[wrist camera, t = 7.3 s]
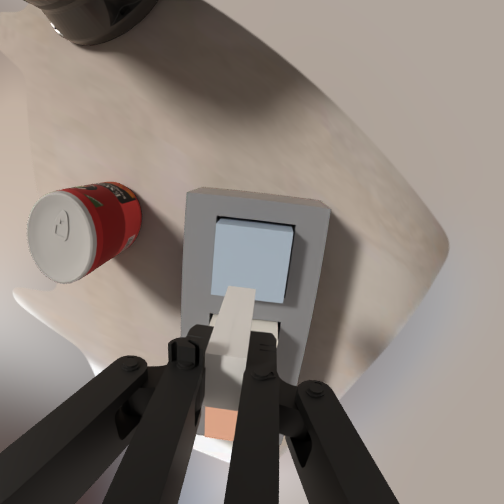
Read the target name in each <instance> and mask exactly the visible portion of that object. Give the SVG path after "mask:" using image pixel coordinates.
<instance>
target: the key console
mask: <svg viewBox="0 0 504 504" xmlns="http://www.w3.org/2000/svg"><path fill="white" fill-rule="evenodd" d="M330 212H331V209H330V208H329V207H328V206H327V205H325V204H324V203H323V202H321V201H319V200H312V199H305V198H297V197H289V196H281V195H273V194H265V193H256V192H247V191H238V190H228V189H218V188H208V187H200V188H198V189H195V190H192V191H189V192H187V196H186V210H185V225H184V243H183V264H182V293H181V337H186V336H187V334H188V332H189V329H190V328H192V327H193V326H195V325H196V324H200V325H207V326H209V324H210V322H211V319H212V316H213V314H219V311H220V308H221V305H222V302H223V300H224V297H225V296H218V295H211V285H212V271H213V257H214V244H215V232H216V223H217V222H218V221H219V220H220V219H221V218H222V217H223V216H226V217H235V218H243V219H252V220H261V221H269V222H277V223H285V224H291V226H292V230H293V239H292V246H291V253H290V260H289V266H288V273H287V280H286V286H285V293H284V299H283V303H275V302H266V301H258V300H255V301H254V309H253V318H252V319H259V320H267V321H276V322H278V344H277V373H278V375H279V377H280V378H281V379H282V380H283V381H285V382H286V383H289V384H291V385H294V386H297V382H298V378H299V373H300V369H301V365H302V360H303V356H304V352H305V347H306V343H307V338H308V333H309V329H310V324H311V319H312V314H313V309H314V304H315V299H316V294H317V289H318V283H319V278H320V272H321V267H322V261H323V255H324V250H325V244H326V238H327V231H328V225H329V218H330ZM196 434H197V435H203V436H205V406H203V403H202V408H201V418H200V422H199V426H198V429H197V433H196ZM283 436H284V435H282V434H279V445H281V443H282V440H283Z"/></svg>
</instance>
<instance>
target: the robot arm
mask: <svg viewBox="0 0 504 504" xmlns="http://www.w3.org/2000/svg"><path fill="white" fill-rule="evenodd" d="M24 1H26V2H28V3H30V4H32V5H34V6H36V7H38V8H40V9H41V10H42V11H43V12H44V14H45V15H46V16H47V17H48V19H49V20H50V21H51V24H52V26H53V28H54V30H55V31H56V32H57V33H58V34H59V35H60V36H61V37H63V38H65V39H67V40H69V41H71V42H73V43H75V44H79V45H95V44H100V43H103V42H106V41H109V40H111V39H114V38H116V37H118V36H120V35H121V34H123V33H125V32H126V31H128V30H129V29H131V28H132V27H133V26H135V25H136V24H137V23H138V22H140V21H141V20H142V19H143V18H144V17H145V16H146V15H147V14H148V13H149V12H150V10H151V9H152V8H153V7H154V5H155V4H156V2H157V1H158V0H24ZM255 293H256V289H251V288H243V287H235V286H228V288H227V291H226V294H225V297H224V300H223V302H222V305H221V308H220V311H219V314H218V317H217V320H216V323H215V326H207V325H200V324H196V325H195V326H193V327H192V328H190V329H189V332H188V334H187V336H186V337H181V338H176V339H173V340H171V341H170V342H169V343H168V358H169V362H168V364H167V365H164V366H149V367H147V363H146V361H145V360H144V359H142V358H141V357H137V356H123V357H121V358H119V359H117V360H116V361H114V362H113V363H112V364H111V365H109V366H108V367H107V368H106V369H104V370H103V371H102V372H101V373H99V374H98V375H97V376H96V377H94V378H93V379H92V380H91V381H89V382H88V383H87V384H86V385H84V386H83V387H82V388H81V389H79V390H78V391H77V392H76V393H74V394H73V395H72V396H71V397H70V398H68V399H67V400H66V401H65V402H63V403H62V404H61V405H60V406H58V407H57V408H56V409H55V410H53V411H52V412H51V413H50V414H48V415H47V416H46V417H45V418H43V419H42V420H41V421H40V422H38V423H37V424H36V425H35V426H33V427H32V428H31V429H30V430H28V431H27V432H26V433H25V434H23V435H22V436H21V437H20V438H19V439H17V440H16V441H15V442H13V443H12V444H11V445H10V446H9V447H7V448H6V449H5V450H4V451H2V452H1V453H0V504H75V503H76V502H77V501H78V500H79V499H80V498H81V497H82V496H83V495H84V493H85V492H86V491H87V490H88V489H89V488H90V487H91V486H92V485H93V484H94V483H95V481H96V480H97V479H98V478H99V477H100V476H101V475H102V474H103V473H104V471H105V470H106V469H107V468H108V467H109V466H110V465H111V464H112V463H113V461H114V460H115V459H116V458H117V457H118V456H119V455H120V454H121V452H122V451H123V450H124V449H125V448H126V447H127V446H128V445H129V446H128V448H127V450H126V452H125V454H124V457H123V459H122V461H121V463H120V465H119V467H118V470H117V472H116V474H115V476H114V479H113V481H112V483H111V485H110V487H109V489H108V492H107V494H106V496H105V498H104V501H103V503H102V504H178V500H179V497H180V493H181V489H182V485H183V482H184V478H185V474H186V470H187V466H188V462H189V459H190V455H191V452H192V448H193V444H194V440H195V437H196V433H197V429H198V426H199V422H200V418H201V408H202V403H203V406H206V407H212V408H219V409H226V410H233V411H238V414H237V421H236V427H235V434H234V441H233V447H232V454H231V460H230V467H229V473H228V480H227V486H226V493H225V499H224V504H279V434H282V435H285V439H286V442H287V445H288V448H289V450H290V453H291V456H292V459H293V461H294V464H295V467H296V470H297V473H298V475H299V478H300V481H301V483H302V486H303V489H304V491H305V494H306V497H307V500H308V502H309V504H399V502H398V501H397V499H396V497H395V496H394V494H393V492H392V490H391V489H390V487H389V485H388V484H387V482H386V480H385V479H384V477H383V475H382V473H381V472H380V470H379V468H378V467H377V465H376V464H375V462H374V460H373V458H372V456H371V455H370V453H369V452H368V450H367V448H366V446H365V445H364V443H363V441H362V439H361V438H360V436H359V434H358V433H357V431H356V429H355V428H354V426H353V424H352V422H351V421H350V419H349V417H348V416H347V414H346V412H345V411H344V409H343V407H342V405H341V404H340V402H339V400H338V399H337V397H336V395H335V394H334V392H333V390H332V389H331V388H330V387H329V386H328V385H327V384H325V383H323V382H320V381H316V380H309V381H304V382H302V383H301V384H299V386H294V385H291V384H289V383H286V382H285V381H283V380H282V379H281V378H280V377H279V375H278V373H277V339H276V338H275V337H274V335H273V334H272V333H267V332H258V331H251V326H252V318H253V309H254V301H255Z"/></svg>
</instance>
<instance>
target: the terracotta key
mask: <svg viewBox="0 0 504 504" xmlns="http://www.w3.org/2000/svg"><path fill="white" fill-rule="evenodd" d="M237 414H238V411H233V410H226V409H219V408H212V407H206V406H205V437H210V438H216V439H223V440H230V441H234V434H235V427H236V421H237Z"/></svg>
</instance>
